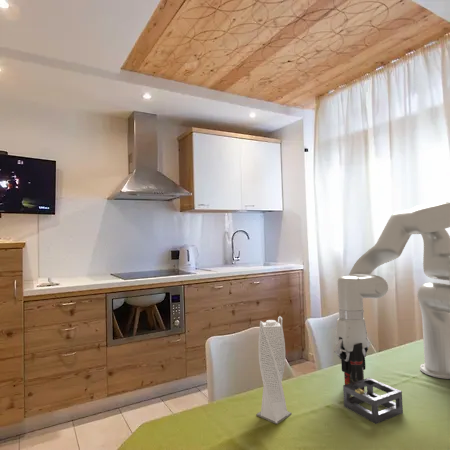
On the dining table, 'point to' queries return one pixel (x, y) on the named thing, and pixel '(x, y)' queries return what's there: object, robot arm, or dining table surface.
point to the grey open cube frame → (373, 400)
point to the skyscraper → (272, 371)
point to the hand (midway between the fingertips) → (353, 369)
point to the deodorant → (355, 365)
